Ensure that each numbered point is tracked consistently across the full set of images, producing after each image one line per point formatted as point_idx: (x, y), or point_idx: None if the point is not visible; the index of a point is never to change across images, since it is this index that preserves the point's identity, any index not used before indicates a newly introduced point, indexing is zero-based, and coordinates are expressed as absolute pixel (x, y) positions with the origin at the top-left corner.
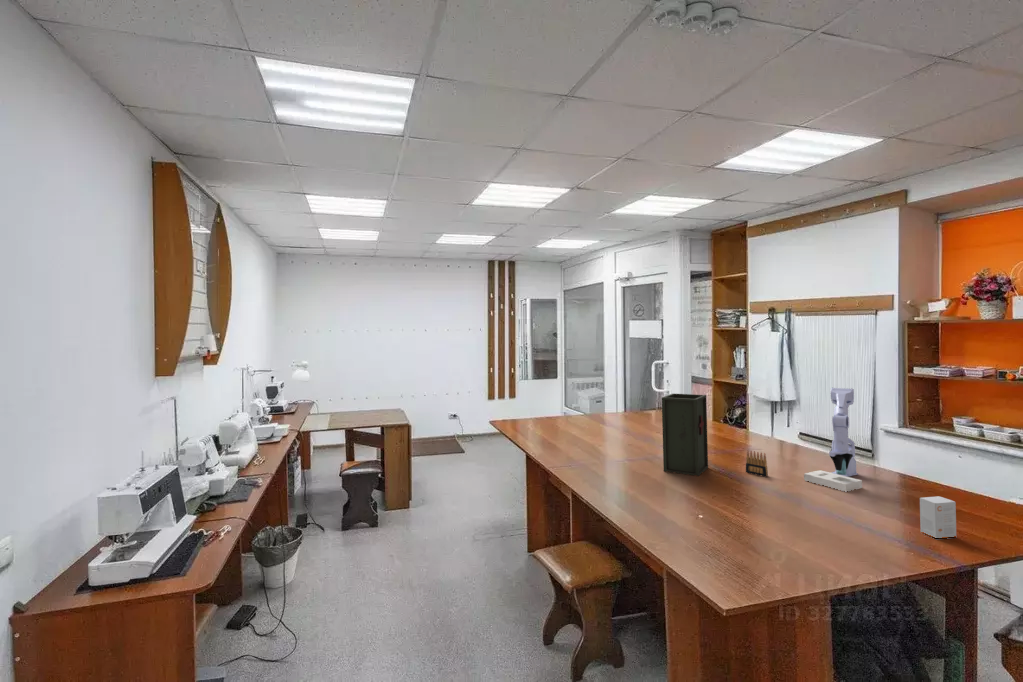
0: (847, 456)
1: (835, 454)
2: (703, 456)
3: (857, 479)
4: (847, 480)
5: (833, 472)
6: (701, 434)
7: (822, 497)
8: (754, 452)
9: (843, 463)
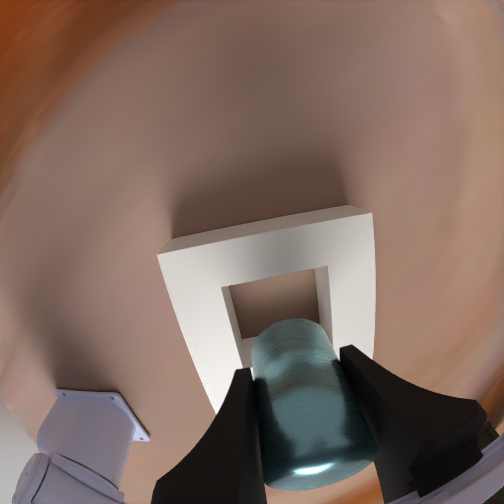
0: (247, 494)
1: (480, 466)
2: None
3: (170, 285)
4: (230, 314)
5: (141, 437)
6: (495, 501)
7: (485, 192)
8: None
9: (336, 401)
